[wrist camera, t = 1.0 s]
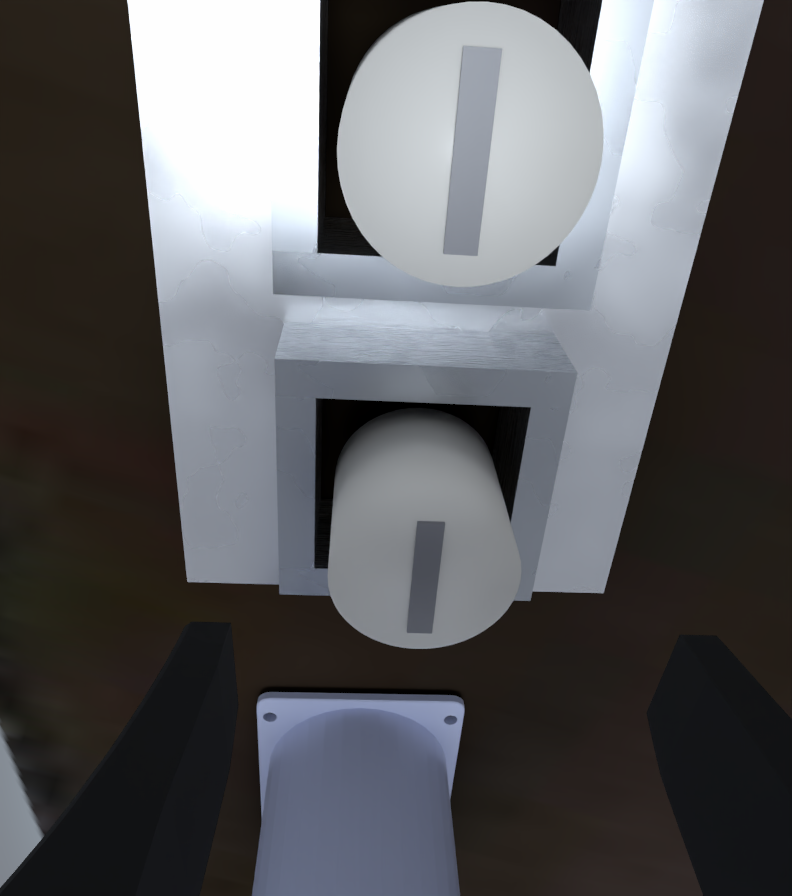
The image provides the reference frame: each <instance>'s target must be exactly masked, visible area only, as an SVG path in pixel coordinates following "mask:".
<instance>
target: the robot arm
mask: <svg viewBox="0 0 792 896" xmlns="http://www.w3.org/2000/svg"><path fill="white" fill-rule="evenodd" d="M237 711H238V695H237V684H236V674H235V663H234V652H233V641H232V630H231V623H219V622H191V623H189V624H188V625H186V626H185V627H184V629H183V631H182V633H181V635H180V637H179V639H178V641H177V643H176V645H175V647H174V648H173V650H172V652H171V654H170V656H169V657H168V659H167V661H166V663H165V664H164V666H163V668H162V670H161V671H160V673H159V675H158V676H157V678H156V680H155V681H154V683H153V684H152V686H151V688H150V689H149V691H148V693H147V694H146V696H145V697H144V699H143V701H142V702H141V704H140V705H139V707H138V708H137V710H136V711H135V713H134V714H133V716H132V717H131V719H130V720H129V722H128V723H127V725H126V726H125V728H124V729H123V731H122V732H121V734H120V735H119V737H118V738H117V740H116V741H115V743H114V744H113V746H112V747H111V749H110V750H109V751H108V753H107V754H106V756H105V757H104V758H103V760H102V761H101V763H100V764H99V765H98V767H97V768H96V769H95V771H94V772H93V773H92V775H91V776H90V777H89V779H88V780H87V782H86V783H85V784H84V786H83V787H82V788H81V790H80V791H79V792H78V794H77V795H76V796H75V798H74V799H73V800H72V802H71V803H70V804H69V806H68V807H67V808H66V810H65V811H64V812H63V813H62V815H61V816H60V817H59V818H58V820H57V821H56V822H55V824H54V825H53V826H52V827H51V829H50V830H49V831H48V832H47V834H46V835H45V836H44V837H43V838H42V840H41V841H40V842H39V843H38V845H37V846H36V847H35V848H34V849H33V850H32V852H31V853H30V854H29V855H28V856H27V858H26V859H25V860H24V861H23V862H22V864H21V865H20V866H19V867H18V868H17V870H16V871H15V872H14V873H13V874H12V875H11V876H10V878H9V879H8V880H7V881H6V882H5V883H4V884H3V885H2V887H1V888H0V896H199V895H200V891H201V887H202V883H203V879H204V875H205V870H206V866H207V862H208V858H209V854H210V850H211V846H212V841H213V837H214V833H215V829H216V825H217V821H218V816H219V812H220V808H221V804H222V800H223V795H224V791H225V787H226V783H227V778H228V774H229V770H230V763H231V756H232V749H233V741H234V734H235V726H236V718H237ZM464 712H465V709H464V702H463V700H462V699H461V698H460V697H458V696H455V695H418V694H363V693H308V692H266V693H263V694H261V695H260V696H259V697H258V701H257V727H258V749H259V771H260V792H261V814H262V823H261V831H260V838H259V846H258V853H257V861H256V868H255V876H254V884H253V891H252V896H460V890H459V880H458V871H457V861H456V852H455V843H454V833H453V824H452V814H451V805H450V798H451V792H452V785H453V779H454V773H455V767H456V761H457V755H458V749H459V742H460V736H461V730H462V724H463V718H464ZM451 715H452V716H451ZM647 716H648V721H649V726H650V731H651V735H652V740H653V745H654V749H655V753H656V757H657V762H658V766H659V770H660V774H661V777H662V780H663V783H664V786H665V789H666V792H667V795H668V798H669V801H670V804H671V806H672V809H673V812H674V815H675V818H676V821H677V824H678V826H679V829H680V832H681V835H682V838H683V840H684V843H685V846H686V849H687V851H688V854H689V857H690V860H691V862H692V865H693V868H694V871H695V874H696V876H697V879H698V882H699V885H700V888H701V890H702V893H703V896H792V719H791V718H790V717H789V716H788V715H787V714H786V713H785V712H784V710H783V709H782V708H781V707H780V706H779V705H778V704H777V703H776V702H775V700H774V699H773V698H772V697H771V696H770V695H769V694H768V693H767V692H766V690H765V689H764V688H763V687H762V686H761V685H760V684H759V683H758V681H757V680H756V679H755V678H754V677H753V676H752V675H751V674H750V672H749V671H748V670H747V669H746V668H745V667H744V666H743V665H742V663H741V662H740V661H739V660H738V659H737V658H736V657H735V656H734V654H733V653H732V652H731V651H730V650H729V649H728V648H727V647H726V646H725V645H724V643H723V642H722V641H721V640H720V639H719V638H718V637H717V636H705V635H680V636H679V638H678V640H677V643H676V645H675V647H674V650H673V652H672V654H671V657H670V659H669V661H668V664H667V666H666V668H665V671H664V673H663V676H662V678H661V680H660V683H659V685H658V687H657V690H656V692H655V694H654V697H653V699H652V701H651V704H650V706H649V708H648V711H647Z"/></svg>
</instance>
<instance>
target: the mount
mask: <svg viewBox="0 0 792 896" xmlns="http://www.w3.org/2000/svg"><path fill="white" fill-rule="evenodd" d="M328 1H329V0H128V9H129V18H130V28H131V38H132V48H133V57H134V67H135V77H136V87H137V96H138V106H139V116H140V126H141V135H142V145H143V155H144V165H145V174H146V184H147V194H148V204H149V213H150V223H151V233H152V243H153V252H154V262H155V272H156V282H157V291H158V301H159V311H160V321H161V330H162V340H163V350H164V360H165V369H166V379H167V389H168V399H169V408H170V418H171V428H172V438H173V447H174V457H175V467H176V477H177V486H178V496H179V506H180V516H181V525H182V535H183V545H184V555H185V564H186V574H187V582H207V583H244V584H279V594H288V595H326V596H331V595H330V591H329V587H328V563H329V549H330V535H331V522H332V508H333V499H321V464H322V398H325V399H348V400H372V401H395V402H419V403H442V404H466V405H489V406H500V409H499V416H498V422H497V429H496V436H495V442H494V449H493V455H492V460H493V463H494V467H495V470H496V474H497V477H498V481H499V484H500V488H501V491H502V495H503V498H504V502H505V505H506V509H507V512H508V516H509V520H510V523H511V527H512V530H513V534H514V537H515V541H516V544H517V548H518V551H519V555H520V560H521V571H522V572H521V581H520V585H519V588H518V591H517V594H516V596H515V598H514V600H517V601H531V596H532V591H540V592H577V593H604V590H605V586H606V582H607V579H608V575H609V571H610V567H611V564H612V560H613V556H614V553H615V549H616V545H617V542H618V538H619V534H620V530H621V527H622V523H623V519H624V516H625V512H626V508H627V505H628V501H629V497H630V493H631V490H632V486H633V482H634V479H635V475H636V471H637V467H638V464H639V460H640V456H641V453H642V449H643V445H644V442H645V438H646V434H647V430H648V427H649V423H650V419H651V416H652V412H653V408H654V405H655V401H656V397H657V393H658V390H659V386H660V382H661V379H662V375H663V371H664V368H665V364H666V360H667V356H668V353H669V349H670V345H671V342H672V338H673V334H674V331H675V327H676V323H677V319H678V316H679V312H680V308H681V305H682V301H683V297H684V294H685V290H686V286H687V282H688V279H689V275H690V271H691V268H692V264H693V260H694V257H695V253H696V249H697V245H698V242H699V238H700V234H701V231H702V227H703V223H704V220H705V216H706V212H707V208H708V205H709V201H710V197H711V194H712V190H713V186H714V183H715V179H716V175H717V171H718V168H719V164H720V160H721V157H722V153H723V149H724V145H725V142H726V138H727V134H728V131H729V127H730V123H731V120H732V116H733V112H734V108H735V105H736V101H737V97H738V94H739V90H740V86H741V83H742V79H743V75H744V71H745V68H746V64H747V60H748V57H749V53H750V49H751V46H752V42H753V38H754V34H755V31H756V27H757V23H758V20H759V16H760V12H761V9H762V5H763V1H764V0H561V7H560V14H559V20H558V27H557V31H558V32H559V33H560V34H561V35H562V36H563V37H564V38H565V39H566V40H567V41H568V42H569V43H570V44H571V45H572V47H573V48H574V49H575V51H576V52H577V53H578V55H579V56H580V57H581V59H582V61H583V62H584V64H585V66H586V68H587V69H588V71H589V73H590V75H591V78H592V80H593V83H594V85H595V88H596V90H597V94H598V98H599V102H600V106H601V111H602V119H603V128H604V132H603V153H602V161H601V167H600V171H599V175H598V179H597V183H596V186H595V188H594V191H593V193H592V196H591V199H590V201H589V203H588V205H587V207H586V209H585V211H584V212H583V214H582V216H581V218H580V219H579V221H578V222H577V224H576V225H575V227H574V228H573V230H572V231H571V232H570V233H569V235H568V236H567V237H566V238H565V239H564V240H563V241H562V243H561V244H560V245H559V246H558V247H557V248H556V249H554V250H553V251H552V252H551V253H550V254H549V255H548V256H547V257H545V258H544V259H543V260H541V261H540V262H538V263H537V264H536V265H534V266H533V267H531V268H529V269H527V270H525V271H524V272H522V273H520V274H518V275H515V276H513V277H511V278H508V279H506V280H503V281H499V282H495V283H492V284H488V285H481V286H474V287H453V286H445V285H439V284H435V283H431V282H427V281H424V280H421V279H419V278H416V277H414V276H411V275H409V274H407V273H406V272H404V271H402V270H400V269H398V268H397V267H395V266H394V265H393V264H391V263H390V262H389V261H387V260H386V259H385V258H383V257H382V256H381V255H380V254H379V253H378V252H377V251H376V250H375V249H374V248H373V247H372V246H371V245H370V243H369V242H368V241H367V240H366V238H365V237H364V236H363V235H362V233H361V232H360V230H359V228H358V227H357V225H356V223H355V222H354V220H353V218H336V217H325V200H326V133H327V67H328Z"/></svg>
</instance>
